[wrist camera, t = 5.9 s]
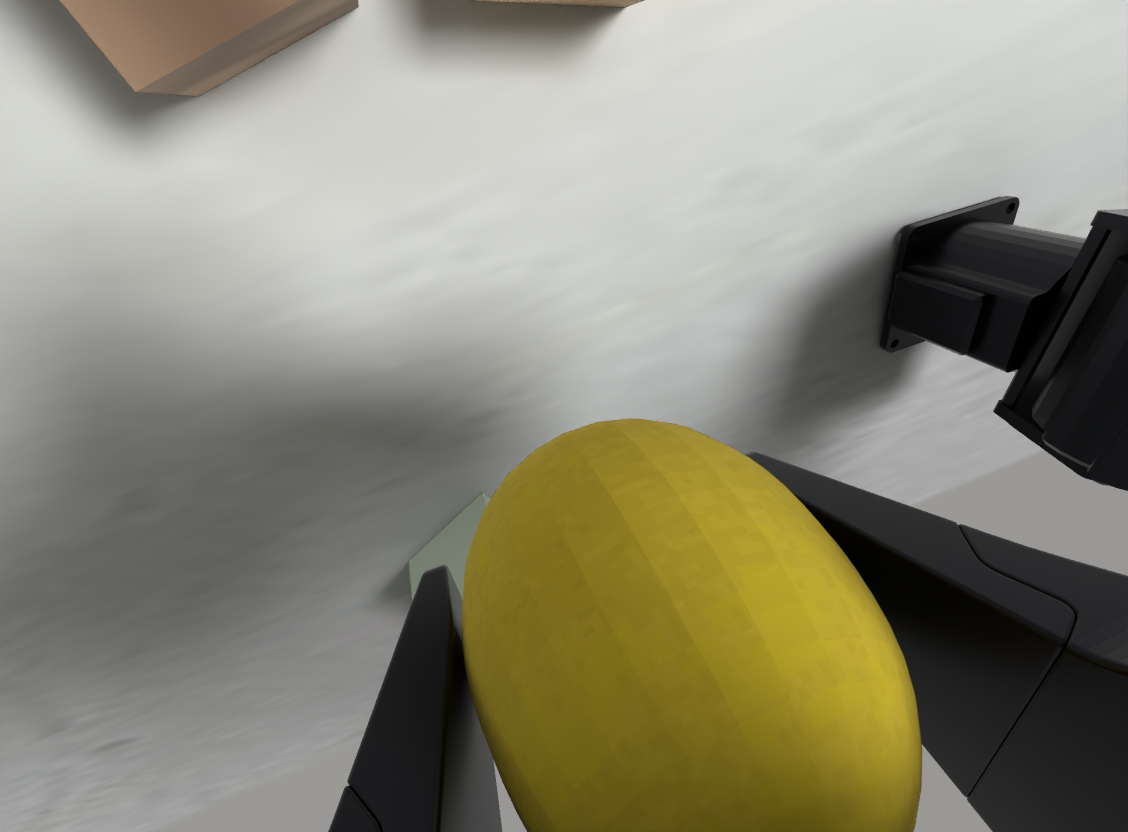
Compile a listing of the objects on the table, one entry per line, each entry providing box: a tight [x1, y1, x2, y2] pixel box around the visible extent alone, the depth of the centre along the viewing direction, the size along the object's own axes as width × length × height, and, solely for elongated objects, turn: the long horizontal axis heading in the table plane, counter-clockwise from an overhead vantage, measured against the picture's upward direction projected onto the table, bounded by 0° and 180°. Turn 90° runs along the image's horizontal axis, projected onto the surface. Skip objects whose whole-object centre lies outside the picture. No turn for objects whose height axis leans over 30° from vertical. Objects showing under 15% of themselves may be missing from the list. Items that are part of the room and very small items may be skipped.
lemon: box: [462, 419, 922, 832], centre depth 8 cm, size 6×6×8 cm
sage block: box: [409, 492, 491, 601], centre depth 24 cm, size 5×5×5 cm
